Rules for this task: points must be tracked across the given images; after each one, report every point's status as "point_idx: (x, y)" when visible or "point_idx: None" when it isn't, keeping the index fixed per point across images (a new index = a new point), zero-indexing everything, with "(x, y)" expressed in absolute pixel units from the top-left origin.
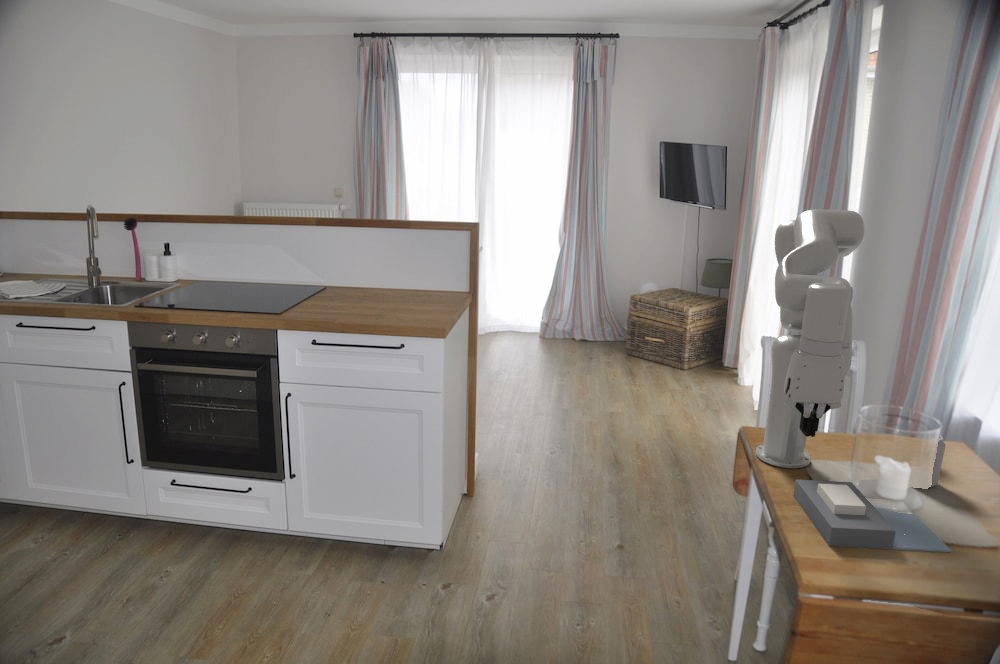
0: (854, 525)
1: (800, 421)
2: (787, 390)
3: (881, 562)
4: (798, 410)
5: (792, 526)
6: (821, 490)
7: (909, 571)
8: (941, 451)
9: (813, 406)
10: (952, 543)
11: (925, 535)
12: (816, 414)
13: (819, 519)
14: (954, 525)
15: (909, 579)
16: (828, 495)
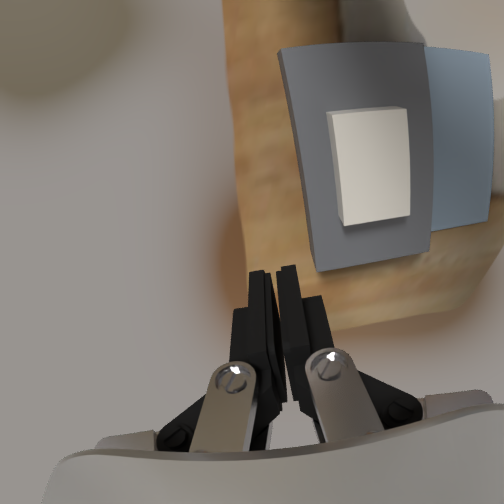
0: (364, 252)
1: (232, 338)
2: (65, 474)
3: (379, 273)
4: (204, 396)
5: (254, 198)
6: (334, 141)
7: (406, 284)
8: None
9: (316, 409)
10: (499, 192)
11: (478, 183)
12: (312, 420)
13: (307, 210)
14: None
15: (396, 301)
16: (342, 181)
